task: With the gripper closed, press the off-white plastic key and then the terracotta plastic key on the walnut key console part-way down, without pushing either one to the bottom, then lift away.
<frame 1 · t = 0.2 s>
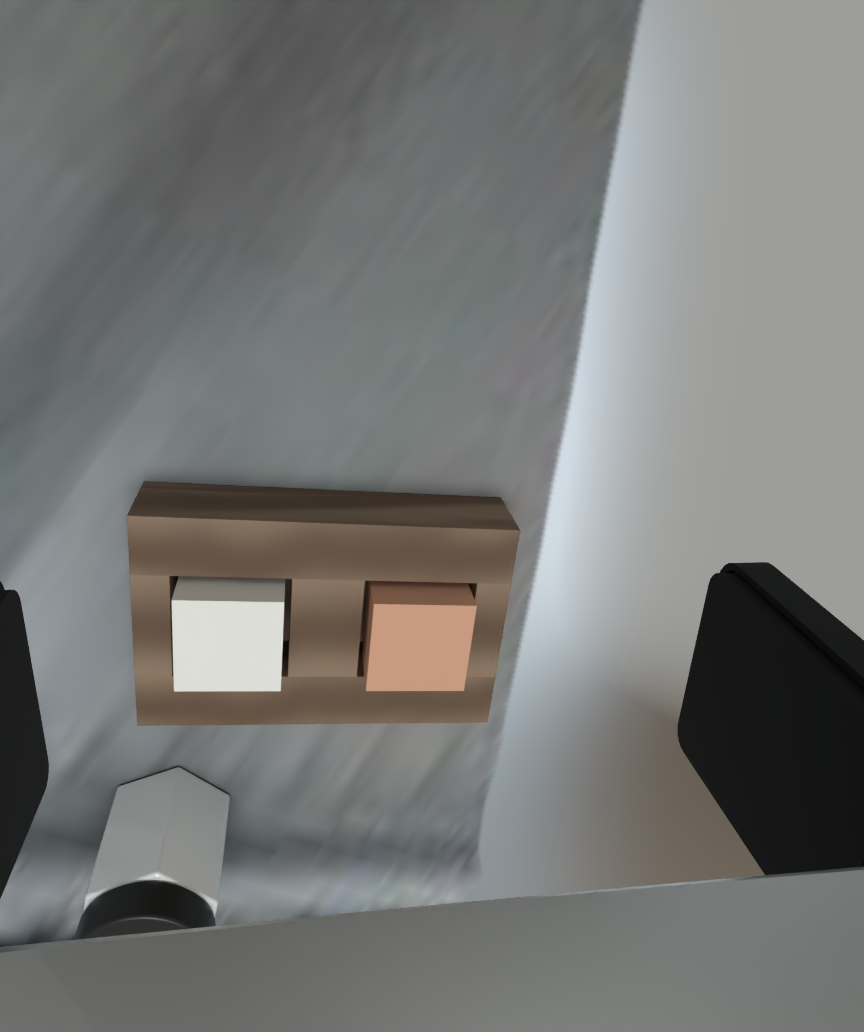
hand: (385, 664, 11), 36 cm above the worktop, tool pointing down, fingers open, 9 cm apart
jar: (171, 811, 57), on the worktop
terracotta key: (416, 632, 48), point 5 cm above the worktop, slide at 0.0 cm
offwhite key: (230, 630, 46), point 5 cm above the worktop, slide at 0.0 cm
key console: (323, 588, 51), on the worktop
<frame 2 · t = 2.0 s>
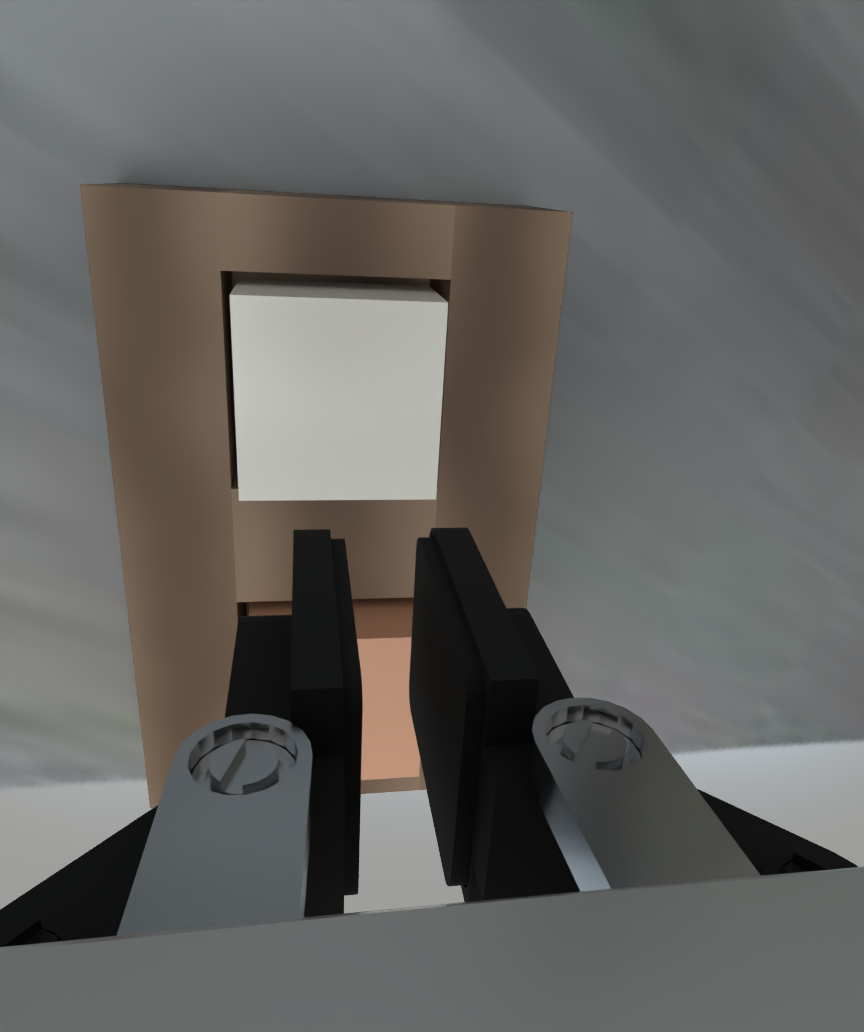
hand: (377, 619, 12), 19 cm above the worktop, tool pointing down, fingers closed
terracotta key: (335, 683, 29), point 5 cm above the worktop, slide at 0.0 cm
offwhite key: (337, 389, 24), point 5 cm above the worktop, slide at 0.0 cm
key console: (331, 491, 31), on the worktop
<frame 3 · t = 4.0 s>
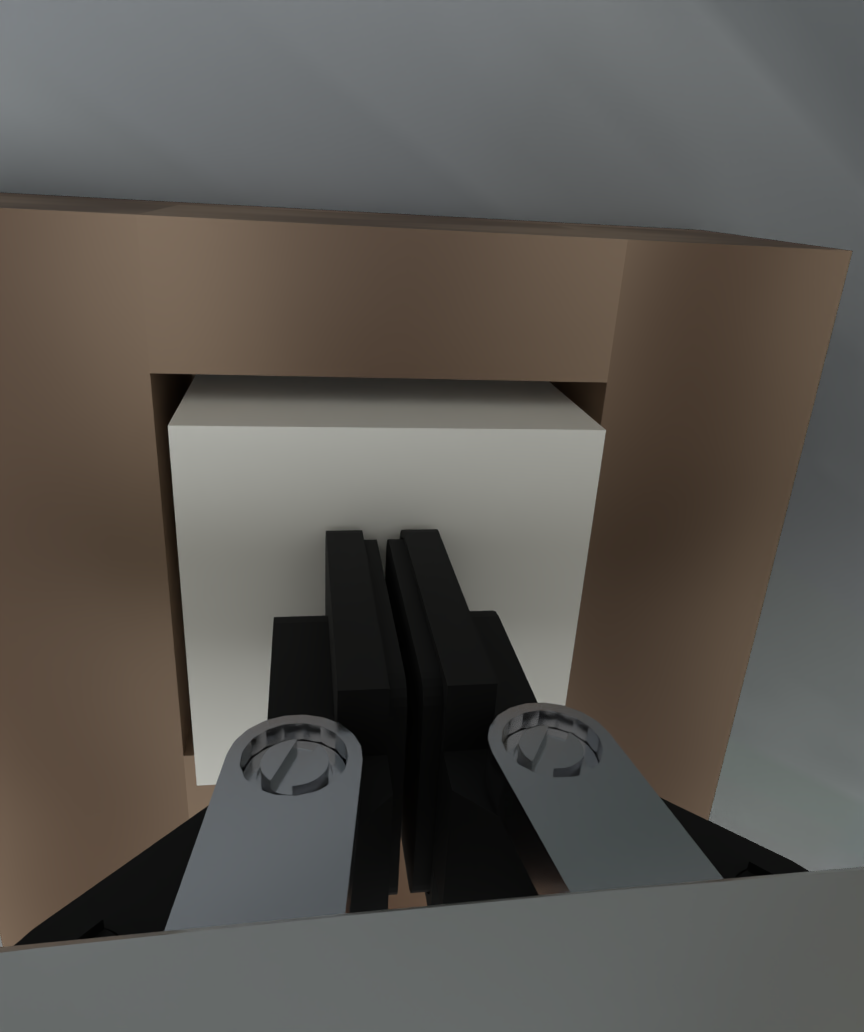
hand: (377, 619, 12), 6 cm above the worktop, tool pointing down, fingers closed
offwhite key: (379, 564, 13), point 4 cm above the worktop, slide at 0.8 cm, touching gripper
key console: (358, 680, 20), on the worktop
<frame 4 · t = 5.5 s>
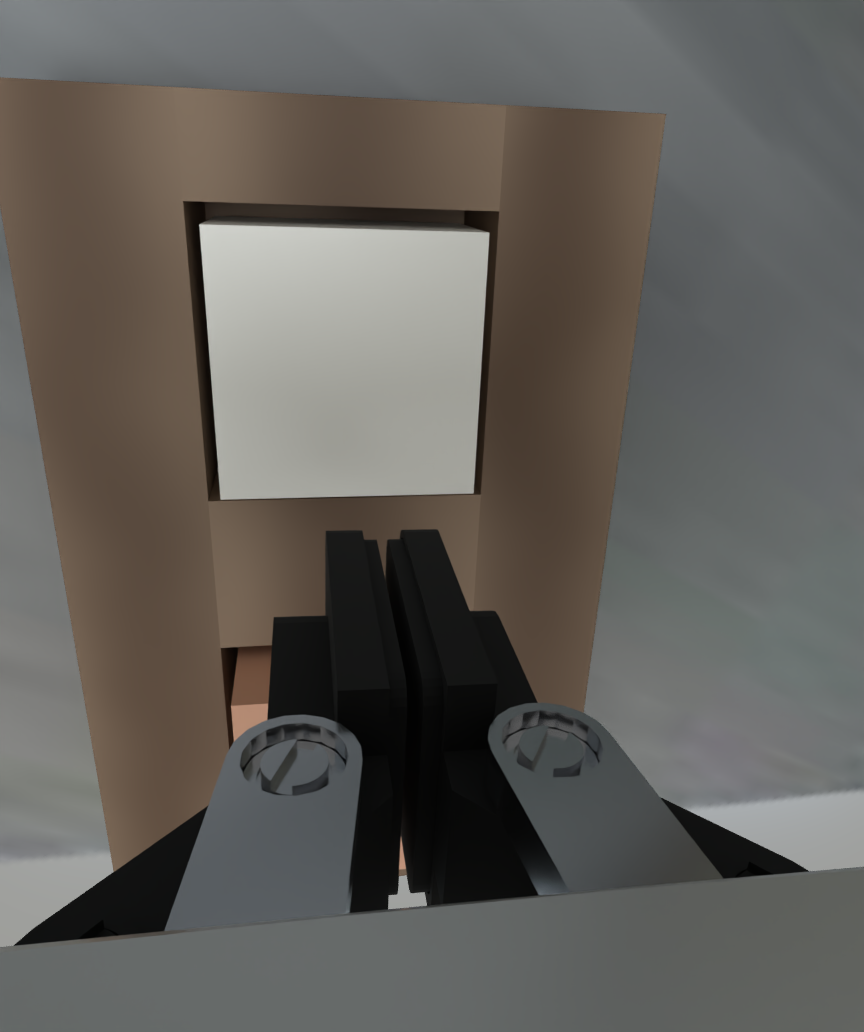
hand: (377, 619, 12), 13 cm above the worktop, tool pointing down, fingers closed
terracotta key: (350, 746, 22), point 5 cm above the worktop, slide at 0.0 cm
offwhite key: (345, 354, 19), point 4 cm above the worktop, slide at 1.1 cm
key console: (339, 500, 25), on the worktop
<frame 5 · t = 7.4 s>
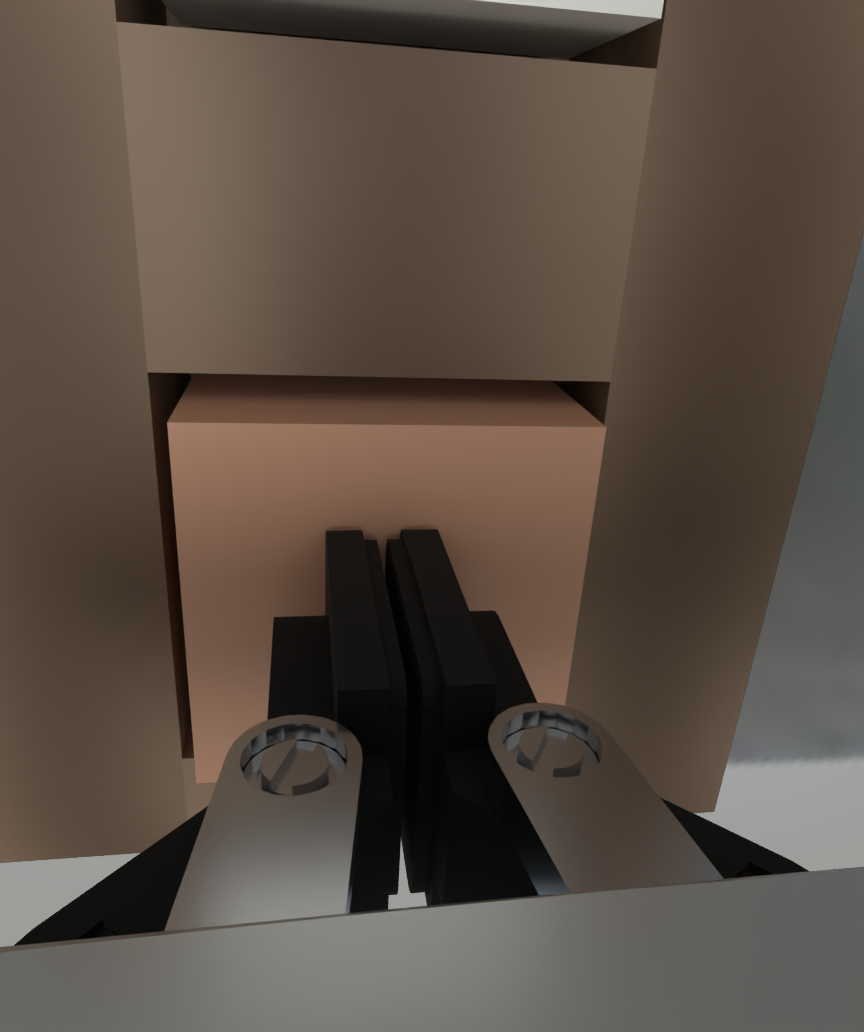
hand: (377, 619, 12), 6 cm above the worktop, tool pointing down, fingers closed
terracotta key: (379, 562, 13), point 4 cm above the worktop, slide at 0.9 cm, touching gripper
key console: (368, 209, 15), on the worktop
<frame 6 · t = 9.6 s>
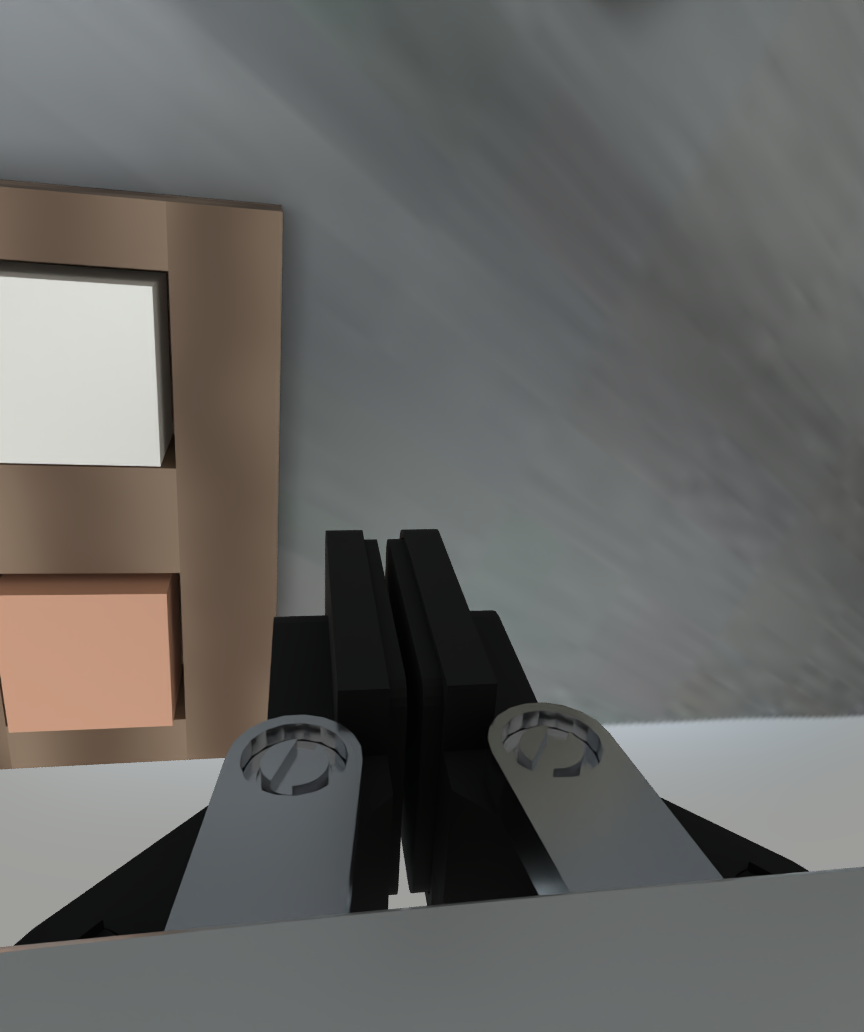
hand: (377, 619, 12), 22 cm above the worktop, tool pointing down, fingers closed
terracotta key: (95, 638, 31), point 4 cm above the worktop, slide at 1.1 cm
offwhite key: (71, 363, 27), point 4 cm above the worktop, slide at 1.1 cm
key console: (105, 472, 32), on the worktop
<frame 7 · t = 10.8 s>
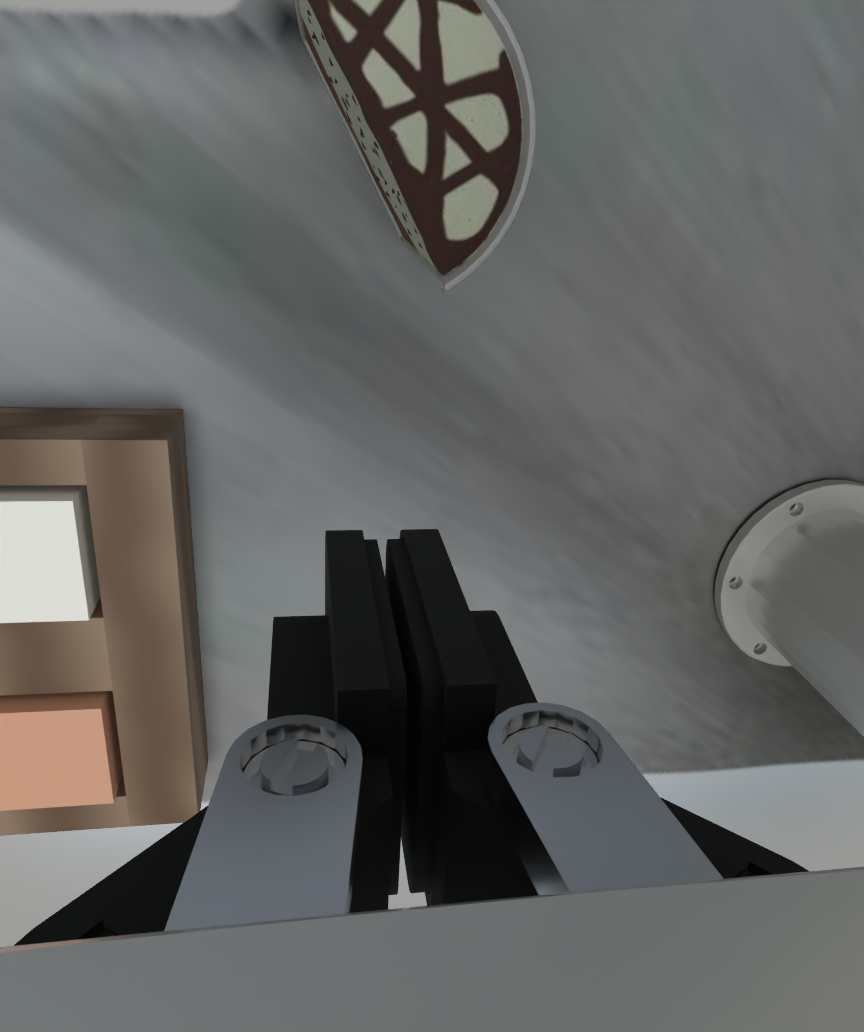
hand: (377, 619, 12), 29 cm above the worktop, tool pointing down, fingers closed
terracotta key: (54, 737, 41), point 4 cm above the worktop, slide at 1.1 cm
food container: (413, 111, 35), on the worktop
offwhite key: (22, 546, 36), point 4 cm above the worktop, slide at 1.1 cm
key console: (62, 605, 42), on the worktop
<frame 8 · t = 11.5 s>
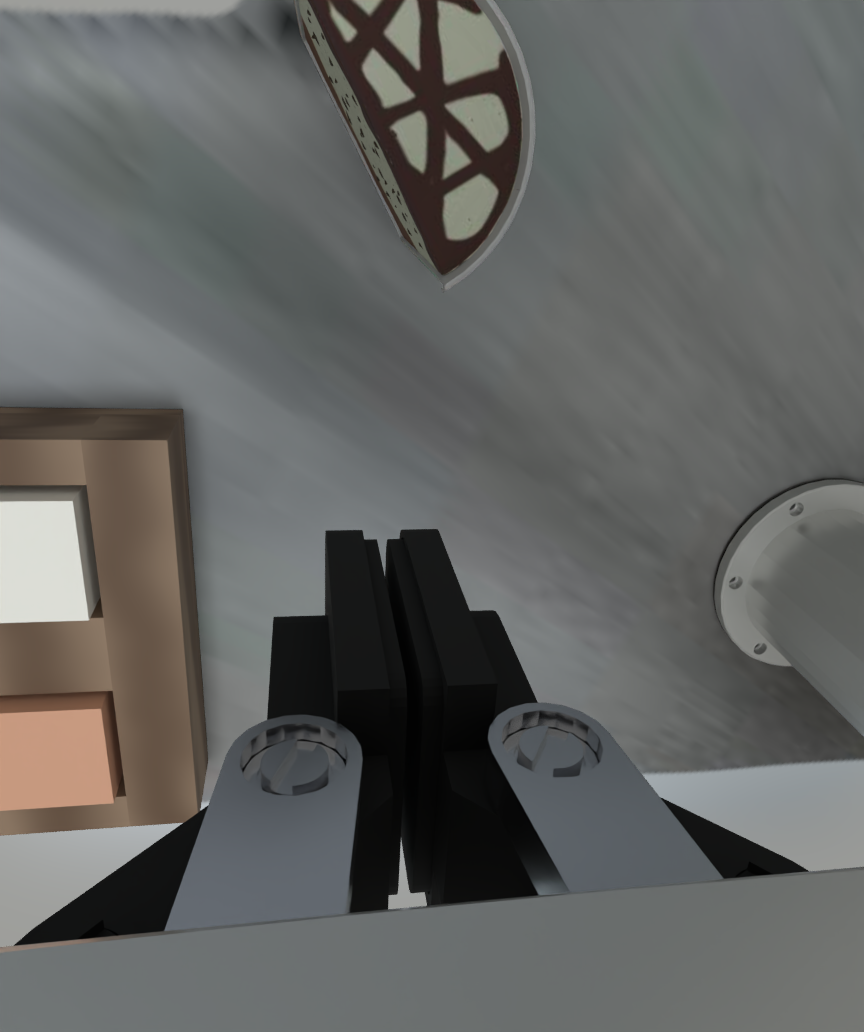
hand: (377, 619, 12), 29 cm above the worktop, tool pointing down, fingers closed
terracotta key: (54, 737, 41), point 4 cm above the worktop, slide at 1.1 cm
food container: (413, 111, 35), on the worktop
offwhite key: (22, 546, 36), point 4 cm above the worktop, slide at 1.1 cm
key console: (62, 605, 42), on the worktop
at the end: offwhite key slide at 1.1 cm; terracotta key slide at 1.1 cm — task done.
